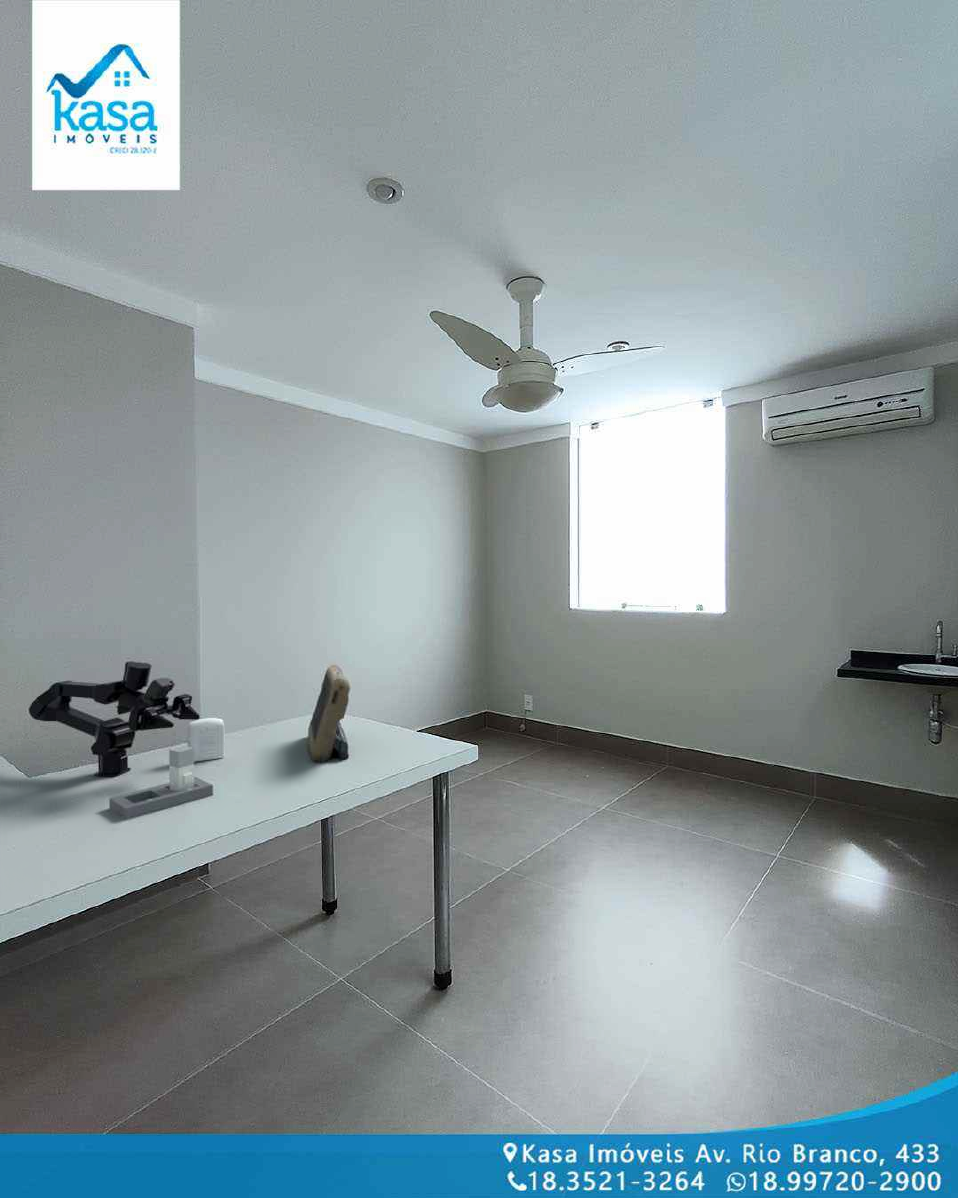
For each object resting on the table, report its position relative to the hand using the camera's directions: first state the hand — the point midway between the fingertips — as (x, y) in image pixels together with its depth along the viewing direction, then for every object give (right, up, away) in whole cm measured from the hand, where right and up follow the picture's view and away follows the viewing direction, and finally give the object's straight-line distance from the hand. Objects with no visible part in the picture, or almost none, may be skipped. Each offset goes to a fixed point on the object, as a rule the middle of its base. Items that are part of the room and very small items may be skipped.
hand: (186, 721), depth 157 cm
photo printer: (-4, -16, +21) cm, 27 cm away
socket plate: (+1, -17, -13) cm, 21 cm away
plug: (+4, -17, -10) cm, 20 cm away
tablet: (+29, -16, +34) cm, 47 cm away
